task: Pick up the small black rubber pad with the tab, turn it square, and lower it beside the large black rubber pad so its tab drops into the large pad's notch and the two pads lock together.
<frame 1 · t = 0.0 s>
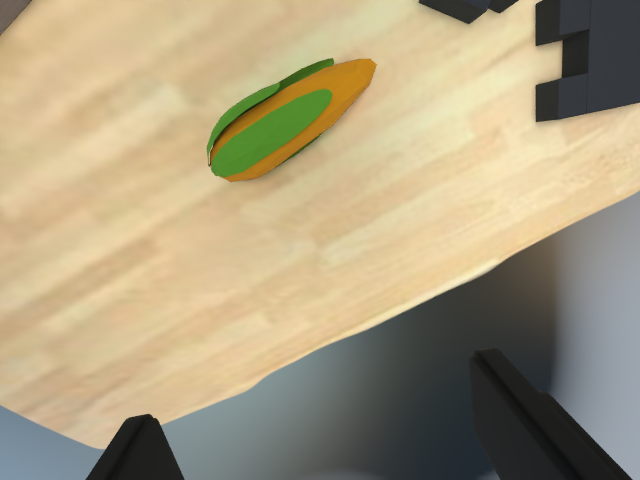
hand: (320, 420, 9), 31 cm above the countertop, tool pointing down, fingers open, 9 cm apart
corn: (291, 118, 36), on the countertop
notch pad: (589, 54, 35), on the countertop
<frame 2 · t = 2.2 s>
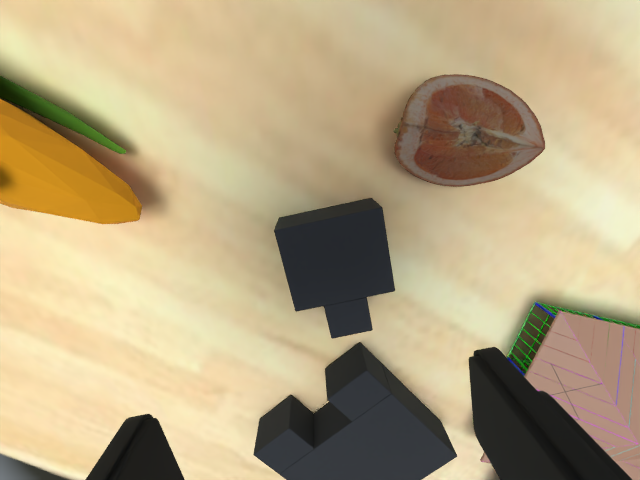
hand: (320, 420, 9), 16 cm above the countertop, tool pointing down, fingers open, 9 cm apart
tab pad: (333, 245, 24), on the countertop
house: (629, 428, 31), on the countertop
corn: (25, 132, 21), on the countertop
fruit slice: (440, 133, 22), on the countertop
notch pad: (351, 420, 29), on the countertop
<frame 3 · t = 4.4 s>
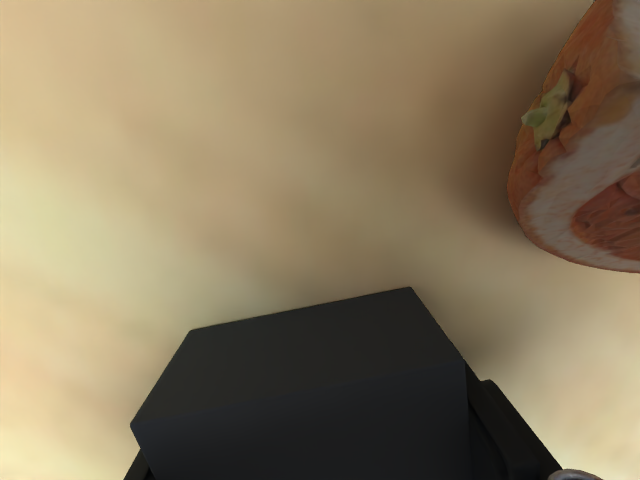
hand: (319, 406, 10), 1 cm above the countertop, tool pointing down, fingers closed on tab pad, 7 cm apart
tab pad: (318, 386, 11), on the countertop, touching gripper
fruit slice: (591, 134, 9), on the countertop
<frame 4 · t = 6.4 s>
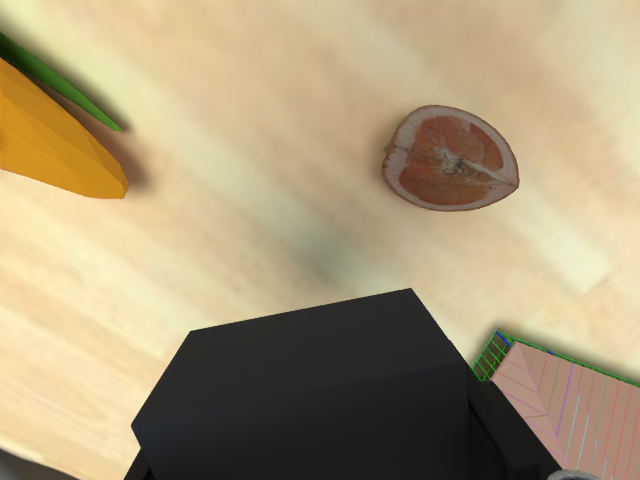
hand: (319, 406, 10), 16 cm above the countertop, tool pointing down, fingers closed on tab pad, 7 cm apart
tab pad: (318, 386, 11), point 15 cm above the countertop, touching gripper
house: (569, 462, 33), on the countertop
corn: (21, 94, 21), on the countertop
fruit slice: (427, 159, 23), on the countertop
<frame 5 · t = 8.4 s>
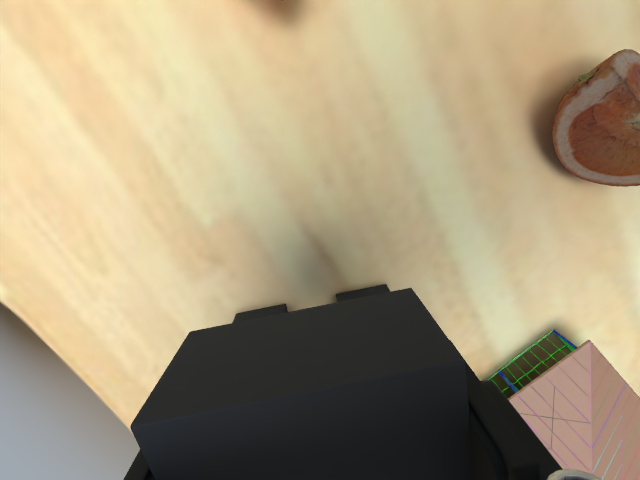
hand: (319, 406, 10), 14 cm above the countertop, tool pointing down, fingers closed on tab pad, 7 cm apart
tab pad: (318, 387, 11), point 14 cm above the countertop, touching gripper
fruit slice: (582, 123, 22), on the countertop
notch pad: (325, 361, 27), on the countertop
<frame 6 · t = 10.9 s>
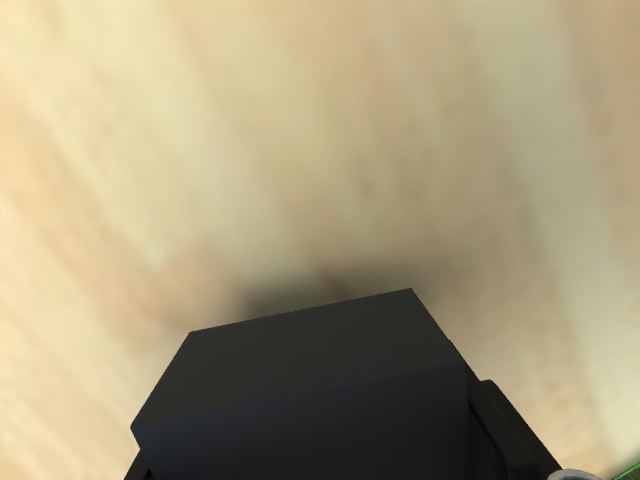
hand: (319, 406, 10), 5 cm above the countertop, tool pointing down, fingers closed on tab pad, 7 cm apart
tab pad: (318, 387, 11), point 4 cm above the countertop, touching gripper
when the fingers open (1 cm above the countertop, at t = 12.6 s): tab pad stays where it is, on the countertop.
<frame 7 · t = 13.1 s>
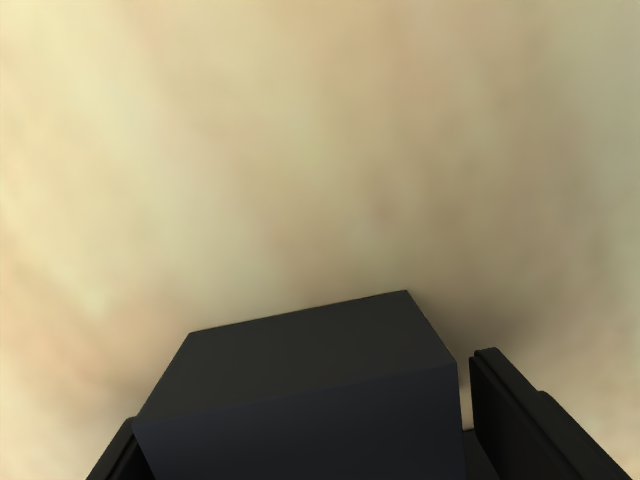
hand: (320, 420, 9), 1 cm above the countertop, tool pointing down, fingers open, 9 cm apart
tab pad: (316, 387, 11), on the countertop
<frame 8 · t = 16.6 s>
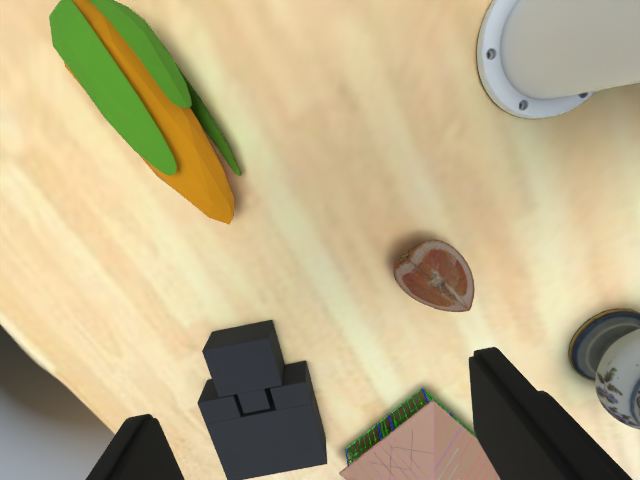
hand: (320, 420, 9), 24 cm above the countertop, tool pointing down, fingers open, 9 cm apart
tab pad: (249, 348, 37), on the countertop
apothecary jar: (607, 343, 38), on the countertop
corn: (180, 123, 30), on the countertop
fruit slice: (423, 264, 35), on the countertop
notch pad: (268, 410, 39), on the countertop
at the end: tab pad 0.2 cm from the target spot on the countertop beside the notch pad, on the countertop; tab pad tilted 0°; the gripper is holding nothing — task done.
